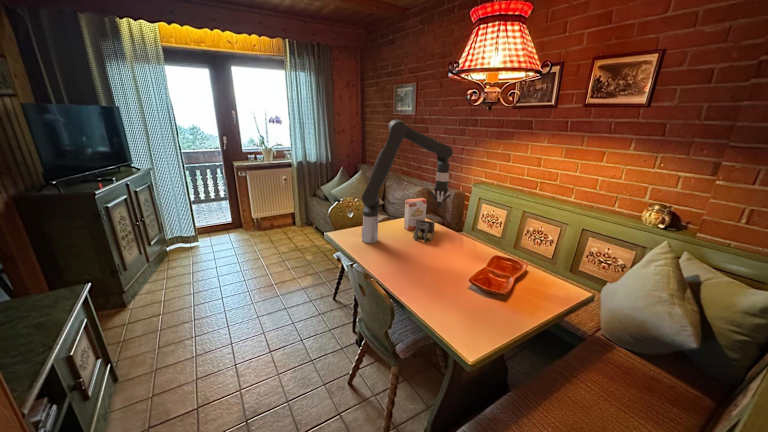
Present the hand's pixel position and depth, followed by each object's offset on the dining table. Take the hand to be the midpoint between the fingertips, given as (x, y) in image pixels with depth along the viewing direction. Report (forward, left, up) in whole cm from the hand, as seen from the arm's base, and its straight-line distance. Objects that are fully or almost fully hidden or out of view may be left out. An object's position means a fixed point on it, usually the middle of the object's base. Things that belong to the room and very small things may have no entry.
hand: (439, 207), depth 183 cm
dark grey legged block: (-9, -2, -22) cm, 24 cm away
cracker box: (-18, +14, -22) cm, 32 cm away
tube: (-9, -2, -22) cm, 24 cm away
